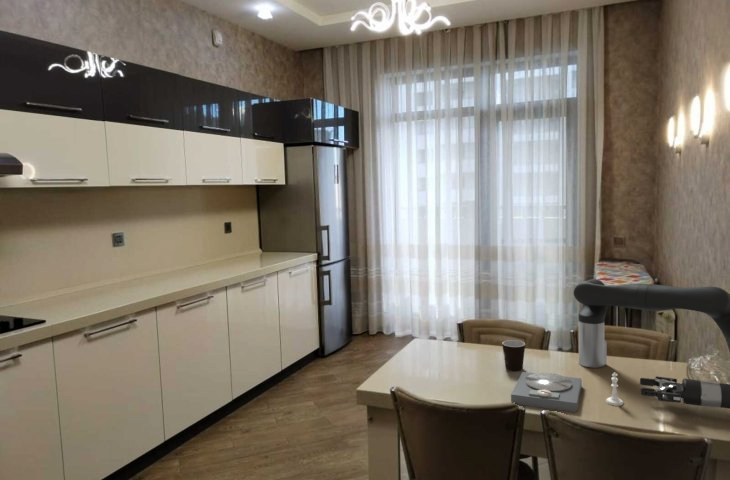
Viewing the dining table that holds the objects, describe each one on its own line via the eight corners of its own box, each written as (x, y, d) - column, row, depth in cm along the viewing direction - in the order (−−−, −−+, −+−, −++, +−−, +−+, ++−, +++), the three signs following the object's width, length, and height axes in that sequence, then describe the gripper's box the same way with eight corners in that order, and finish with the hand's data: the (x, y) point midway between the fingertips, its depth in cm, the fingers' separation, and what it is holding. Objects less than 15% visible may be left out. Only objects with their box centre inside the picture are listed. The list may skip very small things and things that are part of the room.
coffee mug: (522, 373, 195) (521, 348, 194) (499, 370, 199) (499, 345, 198) (530, 364, 205) (529, 339, 204) (508, 361, 209) (508, 337, 208)
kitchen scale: (522, 379, 189) (522, 368, 188) (581, 386, 180) (581, 375, 180) (511, 403, 169) (511, 391, 169) (576, 412, 160) (576, 399, 160)
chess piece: (603, 400, 168) (603, 370, 167) (617, 398, 169) (617, 369, 168) (611, 406, 164) (611, 375, 162) (626, 405, 164) (626, 374, 163)
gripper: (698, 373, 161) (639, 367, 168) (705, 389, 148) (641, 382, 156) (697, 396, 162) (639, 389, 169) (704, 414, 149) (641, 406, 156)
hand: (640, 386), depth 162 cm, fingers open, 8 cm apart
